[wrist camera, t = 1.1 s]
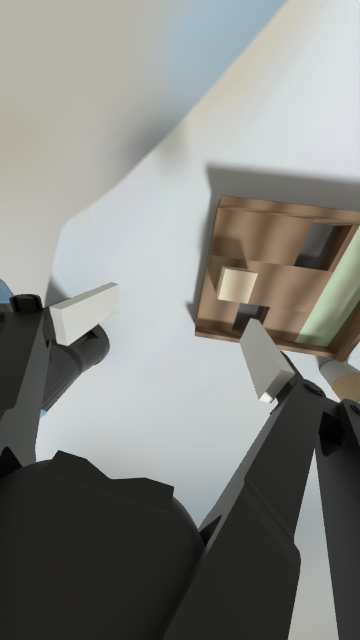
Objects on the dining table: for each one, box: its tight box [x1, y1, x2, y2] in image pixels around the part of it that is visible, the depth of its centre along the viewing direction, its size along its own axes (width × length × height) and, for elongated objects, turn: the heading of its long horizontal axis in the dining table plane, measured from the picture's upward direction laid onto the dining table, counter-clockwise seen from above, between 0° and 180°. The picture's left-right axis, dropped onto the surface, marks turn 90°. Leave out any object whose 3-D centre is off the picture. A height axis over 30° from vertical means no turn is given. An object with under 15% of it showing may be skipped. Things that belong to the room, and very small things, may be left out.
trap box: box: [195, 195, 360, 362], centre depth 28 cm, size 30×24×6 cm
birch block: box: [215, 265, 258, 304], centre depth 27 cm, size 5×5×5 cm
